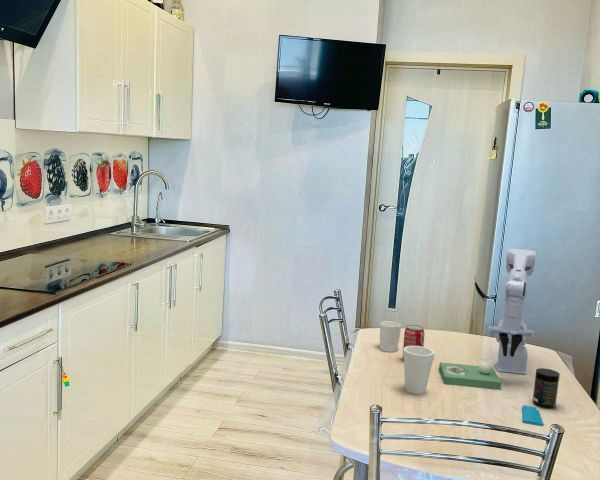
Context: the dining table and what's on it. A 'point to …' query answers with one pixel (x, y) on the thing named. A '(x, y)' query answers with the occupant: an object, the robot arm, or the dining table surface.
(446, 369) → the putting mat
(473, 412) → the dining table surface
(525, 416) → the sponge
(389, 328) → the white cup
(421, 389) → the foam cup
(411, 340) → the soda can
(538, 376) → the supplement container
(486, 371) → the ball
